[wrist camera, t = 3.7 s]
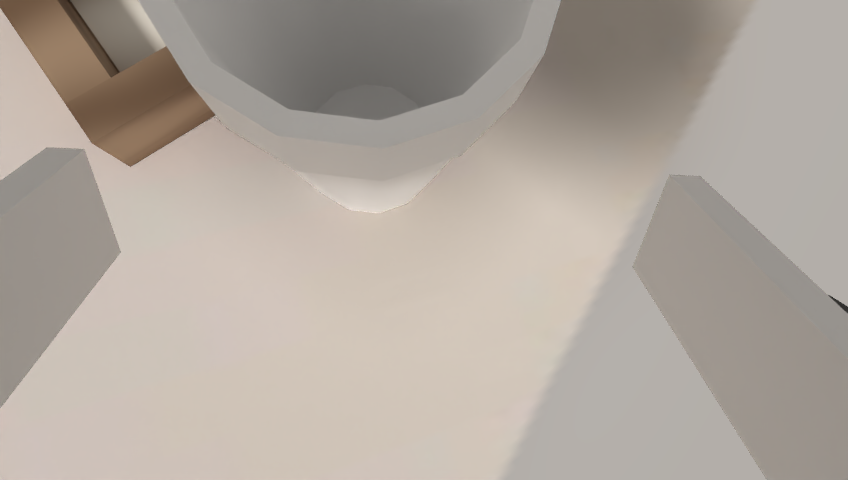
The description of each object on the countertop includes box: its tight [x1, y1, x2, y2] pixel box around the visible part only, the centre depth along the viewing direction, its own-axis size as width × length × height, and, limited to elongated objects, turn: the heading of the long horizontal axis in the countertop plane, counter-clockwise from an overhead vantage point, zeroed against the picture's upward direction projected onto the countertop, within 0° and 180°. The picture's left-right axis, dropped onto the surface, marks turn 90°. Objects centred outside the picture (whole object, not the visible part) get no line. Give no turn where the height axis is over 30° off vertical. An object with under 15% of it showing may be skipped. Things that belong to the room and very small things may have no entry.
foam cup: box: [138, 0, 561, 213], centre depth 17 cm, size 10×9×13 cm
